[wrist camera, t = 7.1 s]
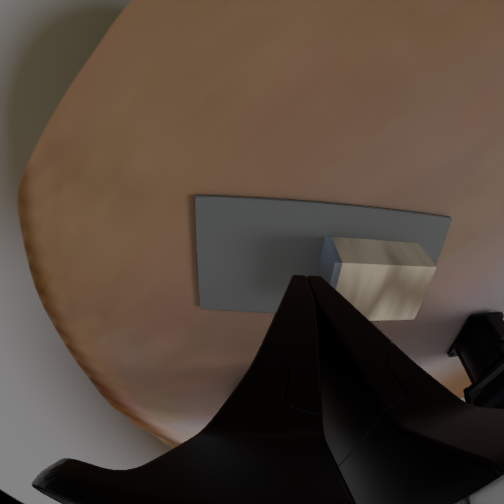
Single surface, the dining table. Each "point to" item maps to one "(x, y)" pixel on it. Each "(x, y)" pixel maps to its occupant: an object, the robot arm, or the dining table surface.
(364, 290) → the block
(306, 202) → the mat
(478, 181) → the dining table surface
